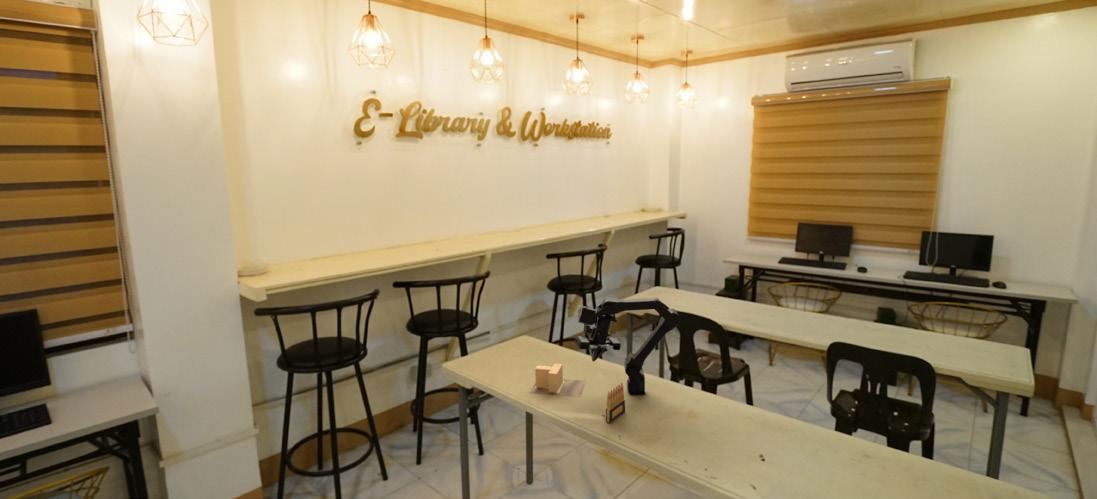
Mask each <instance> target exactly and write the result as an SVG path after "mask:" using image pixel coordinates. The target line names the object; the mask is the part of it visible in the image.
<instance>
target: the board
mask: <svg viewBox="0 0 1097 499" xmlns="http://www.w3.org/2000/svg"><path fill="white" fill-rule="evenodd" d="M586 382H587V381H586V380H578V379H575V380H574V379H565V378H563V383H562V384H561V386H560V388H559V390H558V392H549V388H545V387H536V381H535V383H534V384H533V386H532V388H531V389H530V391H529V394H537V395H538V394H539V395H552V396H563V397H565V396H566V397H573V398H574V397H575V398H576V397H577V398H580V397H581V396H582V393H583V392H584V388H585V386H586Z"/></svg>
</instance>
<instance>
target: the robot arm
mask: <svg viewBox="0 0 1097 499" xmlns="http://www.w3.org/2000/svg"><path fill="white" fill-rule="evenodd" d="M643 310H645V311H647V310H649V311H650V310H653V311H655V312H657V313H658V314H659V315H660V318H659V321H658V325H657V326H656V327H655V328H654V330H653V331H652V332H651V334H650V335H649V336H648V337H647V339H646V340H645V341H644V342H643V344H642V345H641V346H640V348H639V349H638V350H637V351H636V352H634V353H632V352H631V351H630V352H629V353H628V354H627V357H625V358H624V362H623V365H624V372H625V374H626V375H627V376H628V377H627V379H626V390H627V392H628V393H629V395H630V396H637V395H641V396H642V395H646V394H647V392H646V376H645V373H644V369H643V365H644V363H645V360H646V359H648V357H649V355H650V354H651V353H652V352H653V351H654V349H655V348H656V347H657V346H658V344H659V343H660V341H662V339H663V338H664V337H665V336H666V334H667V333H669V332H671V331H672V330H674V329H675V328H676V327H677V326H679V325H680V322H681V318H680V315H679V314H678V312H677V310H676V309H674V308H671V307H669V306H668V305H667V304H665V303H664V302H662V301H661V300H660V299H659V298H658V297H651V298H638V299H637V298H632V299H631V298H630V299H620V298H618V297H610V296H609V297H607V296H606V297H604V299H602V302H601V303H600V304H598V305H597V306H596V307H595V308H592V307H591V308H590V307H588V306H585V305H583V306H582V307H581V311H580V312H579V316H578V321H577V322H578V323H580V324H583V325H584V327H583V333H585V334H586V335H587V336H588V335H589V339H588V338H587V337H586V336H579V335H578V336H576V337H575V339H574V343H575V344H576V346H577V347H578V349H580V350H588V349H589V350H590V354H591V355H590V356H591V357H590V358H591V361H592V362H595V361H596V360H598V359H599V358H600V357H601V356H602V355H603V354H604V353H605V352H608V350H609V349H607V347H608V346H609V347H612V349H613V351H620V350H621V348H622V344H621V342H620V341H619V340H618V338H617V337H611V336H610V335H611V333H610V329H611V326H612V323H613V322H614V323H618V317H617V316H616V315H617V314H620V313H622V312H625V311H627V312H628V311H643ZM594 325H595V326H594Z"/></svg>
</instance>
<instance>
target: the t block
mask: <svg viewBox="0 0 1097 499" xmlns="http://www.w3.org/2000/svg"><path fill="white" fill-rule="evenodd" d="M563 367H564V366H563V363H553V365H552V366H549V365H537V366H536V367H535V369H534V370H535V372H534V373H535V374H534V375H535V382H536V387H545V388H549V392H558V390H559V388H560V386H561V384H562V383H563V379H564V374H563V372H564V371H563Z"/></svg>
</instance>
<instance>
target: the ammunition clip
mask: <svg viewBox="0 0 1097 499" xmlns="http://www.w3.org/2000/svg"><path fill="white" fill-rule="evenodd" d="M606 396H607V398H606V409H605V423H607V424H612V423H613V422H614V421H616V420H617V419H618V418H620V417H621V416H623V414H625V413H626V400H625V392H624V385H623V382H621V383H620V384H618V386H615V387H613V389H611V390H610V391H608V393H607V395H606Z"/></svg>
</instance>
